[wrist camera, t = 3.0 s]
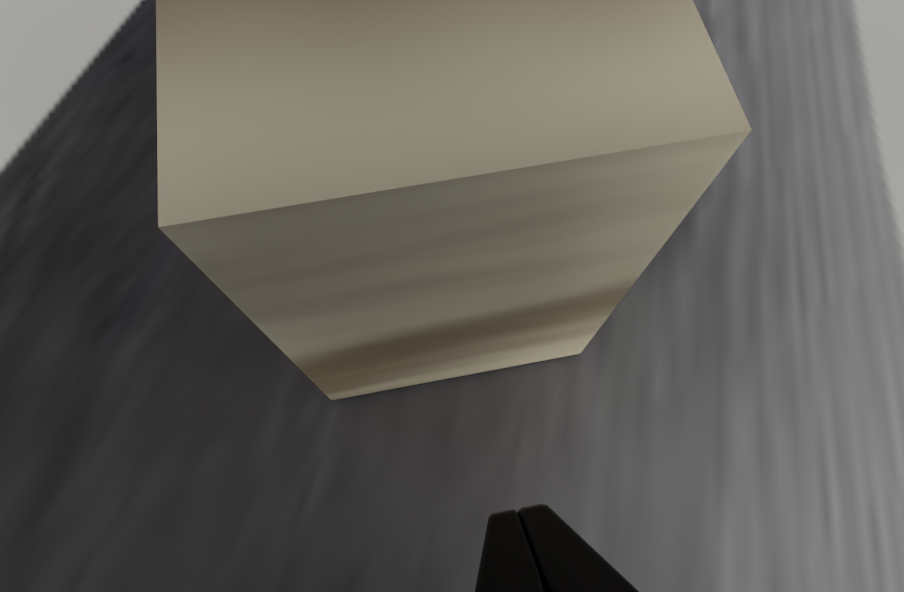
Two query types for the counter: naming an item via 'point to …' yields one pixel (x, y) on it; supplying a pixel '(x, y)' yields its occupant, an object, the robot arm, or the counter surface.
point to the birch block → (432, 170)
